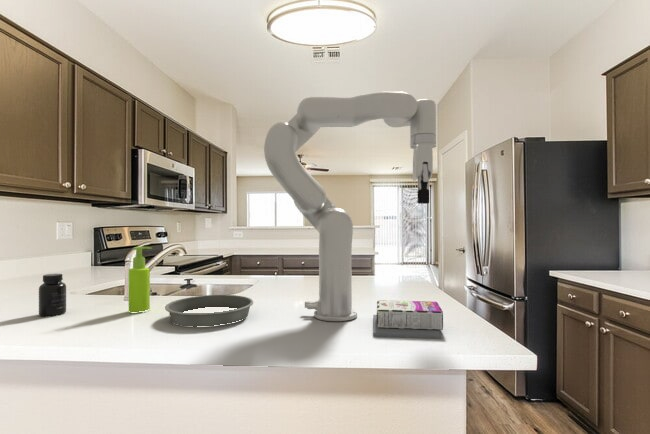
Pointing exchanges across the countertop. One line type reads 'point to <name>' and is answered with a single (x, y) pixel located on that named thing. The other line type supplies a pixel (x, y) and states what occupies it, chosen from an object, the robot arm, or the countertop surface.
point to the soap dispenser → (139, 283)
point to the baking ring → (209, 319)
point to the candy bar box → (409, 315)
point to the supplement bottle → (52, 296)
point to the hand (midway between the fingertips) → (423, 203)
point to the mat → (404, 332)
